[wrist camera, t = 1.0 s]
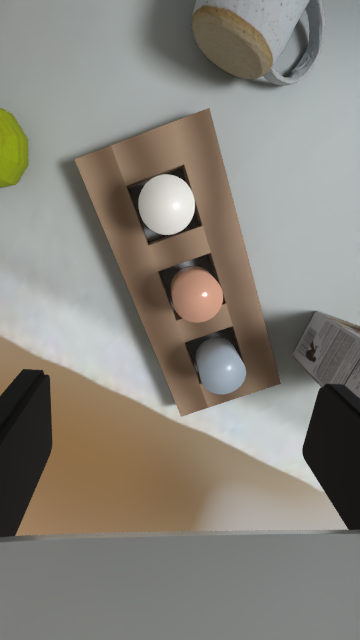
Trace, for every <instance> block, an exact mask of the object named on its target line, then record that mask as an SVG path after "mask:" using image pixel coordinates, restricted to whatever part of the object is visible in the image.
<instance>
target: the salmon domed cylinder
mask: <svg viewBox="0 0 360 640" xmlns="http://www.w3.org/2000/svg"><path fill="white" fill-rule="evenodd" d="M171 295H172V300H173V305H174V308H175V310H176V312H177V313H178V314H179V316H181V317H182V318H183V319H185V320H187V321H189V322H195V323H200V322H204V321H207V320H209V319H211V318H212V317H214V316H215V315H216V314H217V313H218V311H219V310H220V308H221V306H222V302H223V292H222V289H221V287H220V285H219V283H218V282H217V281H216V280H215V279H214V277H213V276H212V275H211V274H210V273H209V272H208V271H207V270H206V269H204V268H202V267H199V266H188V267H185V268H183V269H181V270H180V271H178V272H177V273H176V275H175V276H174V278H173V280H172V282H171Z"/></svg>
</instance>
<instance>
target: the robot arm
mask: <svg viewBox="0 0 360 640" xmlns="http://www.w3.org/2000/svg"><path fill="white" fill-rule="evenodd" d="M51 449H52V425H51V398H50V377H49V375H44V372H43V370H29V369H23V370H22V371H21V373H20V374H19V375H18V376H17V377H16V378H15V379H14V380H13V382H12V383H11V384H10V385H9V386H8V388H7V389H6V390H5V391H4V392H3V393H2V395H1V396H0V640H360V398H359V397H358V396H356V395H355V394H354V393H353V392H352V391H351V390H350V389H348V388H347V387H346V386H345V385H343V384H325V385H324V386H323V387H322V388H320V389H319V391H318V395H317V399H316V402H315V406H314V409H313V413H312V416H311V420H310V424H309V427H308V431H307V434H306V438H305V441H304V445H303V457H304V459H305V461H306V462H307V464H308V466H309V467H310V469H311V470H312V472H313V474H314V475H315V477H316V478H317V480H318V482H319V483H320V485H321V486H322V488H323V489H324V491H325V493H326V494H327V496H328V497H329V499H330V500H331V502H332V503H333V505H334V507H335V509H336V510H337V512H338V513H339V515H340V517H341V518H342V520H343V521H344V523H345V525H346V526H347V528H348V529H349V530H278V531H277V530H272V531H271V530H268V531H187V532H134V533H133V532H131V533H130V532H129V533H84V534H83V533H81V534H50V535H25V536H15V535H16V532H17V530H18V528H19V526H20V523H21V521H22V518H23V516H24V514H25V511H26V509H27V507H28V505H29V502H30V500H31V497H32V495H33V493H34V491H35V488H36V486H37V484H38V481H39V479H40V477H41V474H42V472H43V470H44V467H45V465H46V463H47V460H48V458H49V456H50V453H51Z"/></svg>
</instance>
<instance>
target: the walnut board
mask: <svg viewBox="0 0 360 640" xmlns="http://www.w3.org/2000/svg"><path fill="white" fill-rule="evenodd" d="M75 162H76V164H77V167H78V169H79V171H80V174H81V176H82V179H83V181H84V183H85V186H86V188H87V191H88V193H89V196H90V198H91V200H92V203H93V205H94V208H95V210H96V212H97V215H98V217H99V220H100V222H101V224H102V227H103V229H104V232H105V234H106V237H107V239H108V241H109V244H110V246H111V249H112V251H113V253H114V256H115V258H116V261H117V263H118V265H119V268H120V270H121V273H122V275H123V277H124V280H125V282H126V285H127V287H128V290H129V292H130V294H131V297H132V299H133V302H134V304H135V306H136V309H137V311H138V314H139V316H140V318H141V321H142V323H143V326H144V328H145V331H146V333H147V335H148V338H149V340H150V343H151V345H152V347H153V350H154V352H155V355H156V357H157V359H158V362H159V364H160V367H161V369H162V371H163V374H164V376H165V379H166V381H167V384H168V386H169V388H170V391H171V393H172V396H173V398H174V400H175V403H176V405H177V408H178V410H179V412H180V415H181V416H184V415H187V414H190V413H193V412H196V411H199V410H202V409H205V408H208V407H211V406H214V405H217V404H220V403H223V402H226V401H229V400H232V399H235V398H238V397H242V396H245V395H248V394H251V393H254V392H257V391H260V390H263V389H266V388H269V387H272V386H275V385H278V384H281V383H280V379H279V375H278V371H277V368H276V364H275V360H274V356H273V352H272V348H271V344H270V341H269V337H268V333H267V329H266V325H265V321H264V317H263V314H262V310H261V306H260V302H259V298H258V294H257V291H256V287H255V283H254V279H253V275H252V271H251V267H250V264H249V260H248V256H247V252H246V248H245V244H244V240H243V237H242V233H241V229H240V225H239V221H238V217H237V213H236V210H235V206H234V202H233V198H232V194H231V190H230V186H229V183H228V179H227V175H226V171H225V167H224V163H223V159H222V156H221V152H220V148H219V144H218V140H217V136H216V132H215V129H214V125H213V121H212V117H211V113H210V109H209V108H208V109H205V110H203V111H200V112H198V113H195V114H192V115H190V116H187V117H184V118H182V119H179V120H176V121H174V122H171V123H169V124H166V125H163V126H161V127H158V128H155V129H153V130H150V131H147V132H145V133H142V134H140V135H137V136H134V137H132V138H129V139H126V140H124V141H121V142H118V143H116V144H113V145H110V146H108V147H105V148H103V149H100V150H97V151H95V152H92V153H89V154H87V155H84V156H81V157H79V158H76V159H75ZM181 168H182V170H183V173H184V177H185V180H186V183H187V185H188V186H189V187H190V189H191V191H192V193H193V196H194V200H195V213H196V216H197V219H198V223H199V225H197V226H195V227H192V228H189V229H186V230H183V231H181V232H178V233H175V234H172V235H170V236H167V237H164V238H161V239H159V240H156V241H153V242H150V243H149V242H148V240H147V237H146V234H145V231H144V229H143V226H142V223H141V221H140V218H139V215H138V213H137V210H136V207H135V204H134V202H133V199H132V196H131V194H130V191H129V188H130V187H133V186H136V185H138V184H141V183H144V182H146V181H149V180H151V179H152V178H154V177H156V176H159V175H164V174H168V173H171V172H173V171H176V170H179V169H181ZM206 254H208V255H209V259H210V262H211V265H212V268H213V272H214V275H215V278H216V281H217V282H218V283H219V285H220V287H221V289H222V292H223V302H222V306H221V308H220V310H219V311H218V313H217V314H216V315H215V316H214V317H212V318H211V319H209V320H207V321H204V322H200V323H195V322H189V321H187V320H185V319H183V318H182V317H181V316H179V314H178V313H174V310H173V307H172V305H171V302H170V299H169V296H168V294H167V291H166V288H165V286H164V283H163V280H162V277H161V275H160V272H159V271H161V270H164V269H166V268H169V267H172V266H175V265H178V264H181V263H183V262H186V261H189V260H192V259H195V258H197V257H200V256H203V255H206ZM228 327H230V328H231V331H232V334H233V337H234V341H235V344H236V347H237V350H238V354H239V356H240V358H241V360H242V362H243V363H244V365H245V368H246V376H245V380H244V382H243V383H242V385H241V386H240V387H239V388H238V389H237V390H235V391H233V392H231V393H228V394H215V393H212V392H210V391H208V390H207V389H206V388H205V387H204V386H203V384H202V382H201V378H200V374H199V373H197V372H196V370H195V367H194V364H193V361H192V359H191V356H190V353H189V351H188V348H187V345H186V342H188V341H191V340H194V339H196V338H199V337H202V336H205V335H208V334H211V333H214V332H217V331H220V330H223V329H226V328H228Z"/></svg>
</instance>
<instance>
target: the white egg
mask: <svg viewBox="0 0 360 640" xmlns="http://www.w3.org/2000/svg"><path fill="white" fill-rule="evenodd" d="M138 206H139V212H140V216H141V218H142V220H143V221H144V223H145V224H146V225H147V226H148V227H149V228H150V229H151V230H153V231H154V232H156V233H159V234H163V235H171V234H175V233H178V232H180V231H182V230H183V229H184V228H185V227H186V226H187V225H188V224H189V223H190V221H191V219H192V217H193V215H194V210H195V200H194V196H193V193H192V191H191V189H190V187H189V186H188V185H187V183H186V182H184V181H183V180H182V179H180V178H179V177H177V176H174V175H169V174H164V175H159V176H156V177H154V178H152V179H151V180H149V181H148V182H147V183H146V184H145V185H144V187H143V188H142V190H141V193H140V196H139V202H138Z"/></svg>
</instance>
